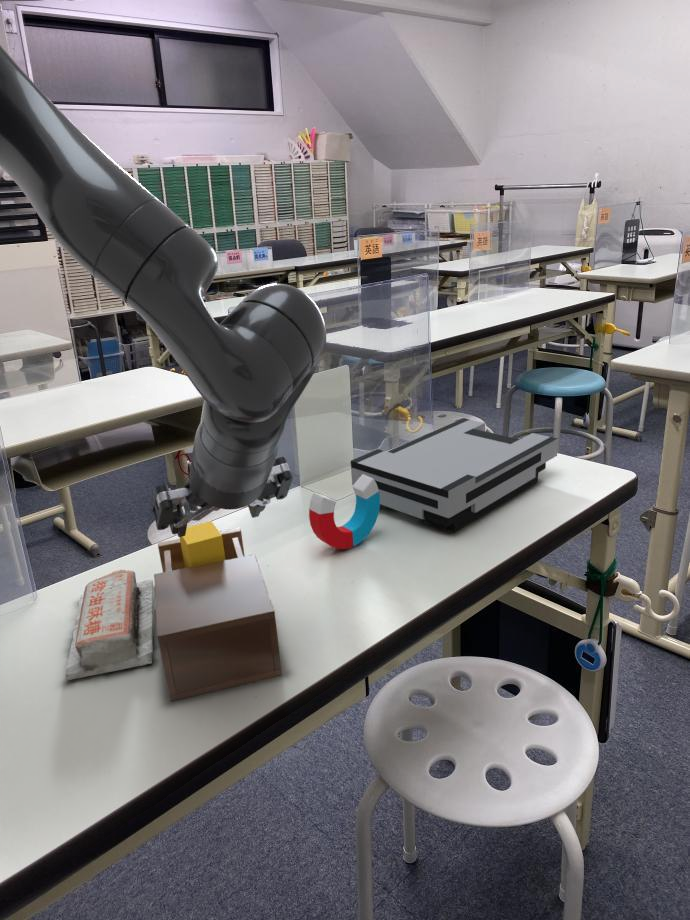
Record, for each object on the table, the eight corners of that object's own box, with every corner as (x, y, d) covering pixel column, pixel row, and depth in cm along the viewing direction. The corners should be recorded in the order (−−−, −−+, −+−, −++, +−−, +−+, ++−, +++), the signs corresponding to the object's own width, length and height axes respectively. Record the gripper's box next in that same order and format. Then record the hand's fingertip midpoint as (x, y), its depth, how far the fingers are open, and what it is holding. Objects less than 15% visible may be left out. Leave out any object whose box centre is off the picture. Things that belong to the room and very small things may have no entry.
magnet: (371, 528, 110) (368, 471, 107) (382, 534, 108) (379, 476, 105) (312, 554, 104) (306, 494, 100) (322, 560, 102) (317, 500, 98)
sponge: (197, 605, 89) (187, 544, 86) (188, 587, 93) (178, 529, 90) (230, 595, 91) (221, 535, 88) (220, 578, 95) (211, 520, 92)
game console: (556, 474, 126) (558, 432, 123) (449, 539, 105) (448, 491, 102) (463, 450, 140) (463, 412, 137) (353, 504, 119) (350, 460, 116)
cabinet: (165, 632, 88) (154, 573, 84) (262, 611, 90) (255, 554, 87) (170, 701, 75) (157, 636, 72) (282, 674, 78) (274, 611, 75)
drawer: (164, 570, 100) (156, 529, 98) (241, 555, 103) (236, 515, 101) (169, 634, 85) (160, 588, 83) (259, 615, 88) (253, 569, 86)
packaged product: (148, 631, 80) (57, 649, 77) (155, 665, 81) (67, 684, 79) (149, 558, 96) (74, 572, 94) (155, 588, 98) (82, 602, 96)
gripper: (291, 406, 67) (265, 475, 81) (146, 435, 62) (144, 504, 76) (317, 473, 65) (285, 533, 79) (168, 509, 59) (162, 567, 73)
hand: (216, 519), depth 77 cm, fingers open, 8 cm apart
